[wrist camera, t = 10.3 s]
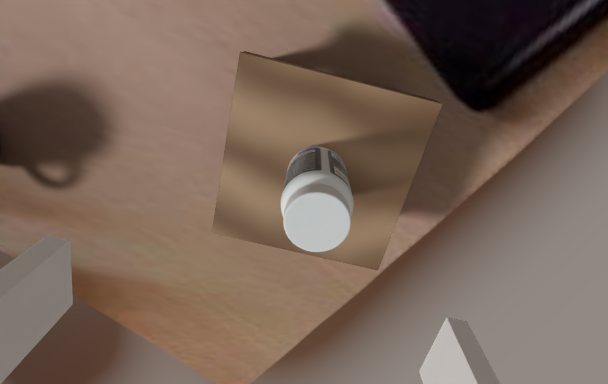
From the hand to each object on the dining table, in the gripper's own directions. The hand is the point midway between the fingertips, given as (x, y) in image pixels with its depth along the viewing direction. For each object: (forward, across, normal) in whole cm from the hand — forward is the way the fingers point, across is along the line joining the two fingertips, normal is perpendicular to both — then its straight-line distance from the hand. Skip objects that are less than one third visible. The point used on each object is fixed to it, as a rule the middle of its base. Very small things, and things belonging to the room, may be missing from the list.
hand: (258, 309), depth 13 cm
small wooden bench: (+25, +2, -1) cm, 25 cm away
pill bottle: (+17, +2, -1) cm, 17 cm away
